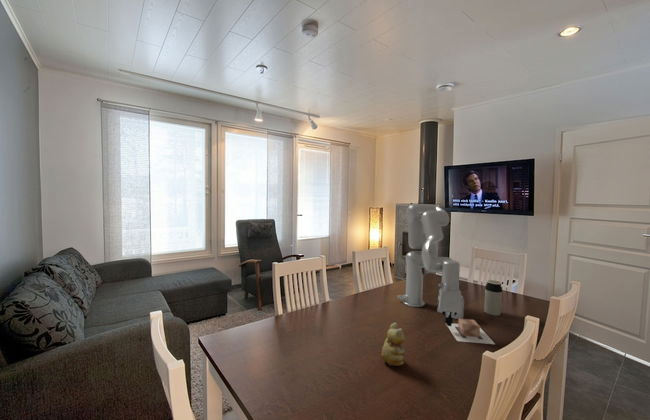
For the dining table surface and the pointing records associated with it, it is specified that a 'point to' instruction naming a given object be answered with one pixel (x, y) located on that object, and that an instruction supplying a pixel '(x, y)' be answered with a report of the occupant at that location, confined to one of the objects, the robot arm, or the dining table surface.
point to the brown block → (468, 327)
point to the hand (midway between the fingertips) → (448, 324)
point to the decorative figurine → (393, 346)
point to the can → (460, 316)
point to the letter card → (459, 337)
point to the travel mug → (493, 297)
